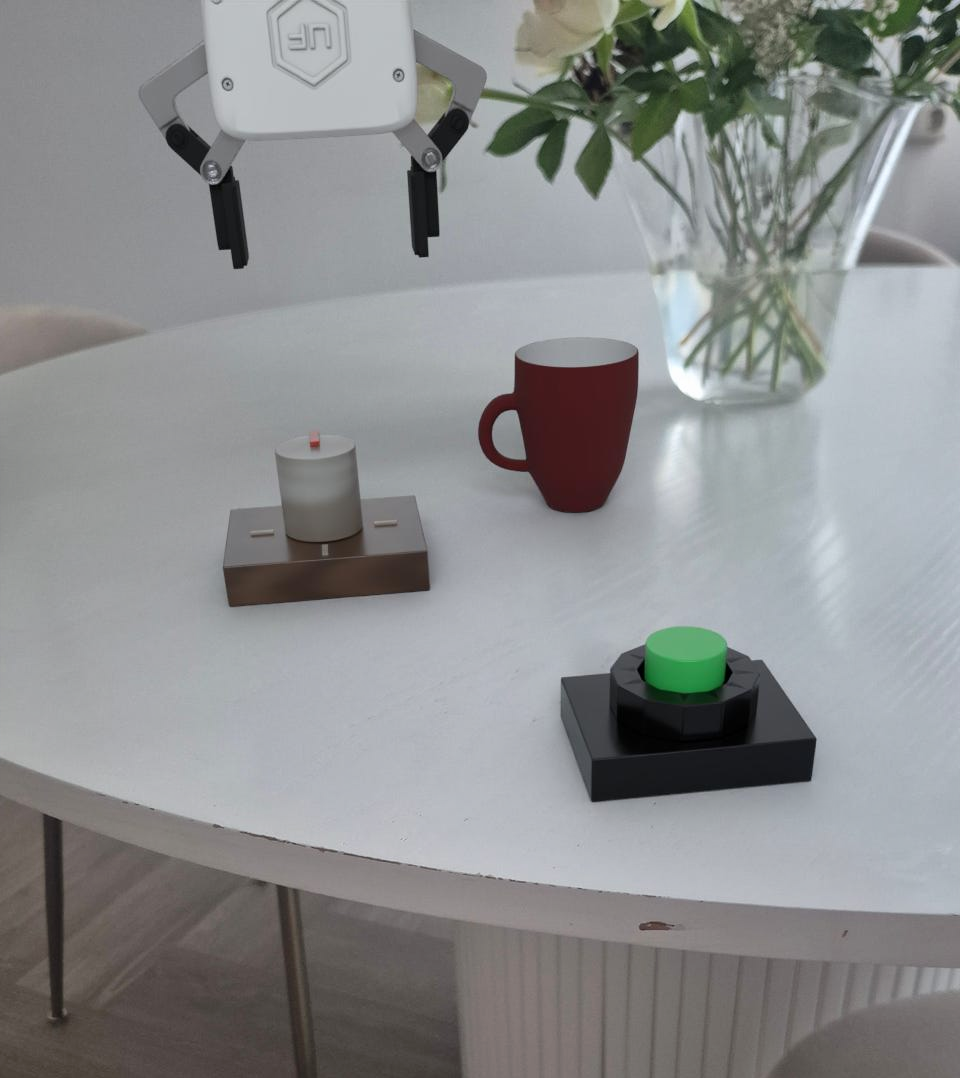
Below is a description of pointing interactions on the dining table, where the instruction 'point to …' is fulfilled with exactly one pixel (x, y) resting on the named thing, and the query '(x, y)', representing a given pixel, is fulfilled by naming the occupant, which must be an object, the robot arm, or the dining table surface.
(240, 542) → the dimmer panel
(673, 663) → the light button
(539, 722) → the dining table surface
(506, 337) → the dining table surface
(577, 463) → the mug
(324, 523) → the dimmer knob
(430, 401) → the dining table surface
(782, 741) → the switch block
